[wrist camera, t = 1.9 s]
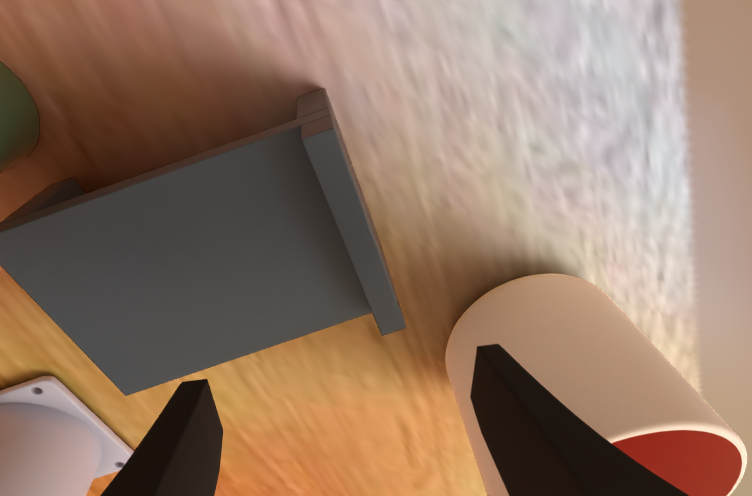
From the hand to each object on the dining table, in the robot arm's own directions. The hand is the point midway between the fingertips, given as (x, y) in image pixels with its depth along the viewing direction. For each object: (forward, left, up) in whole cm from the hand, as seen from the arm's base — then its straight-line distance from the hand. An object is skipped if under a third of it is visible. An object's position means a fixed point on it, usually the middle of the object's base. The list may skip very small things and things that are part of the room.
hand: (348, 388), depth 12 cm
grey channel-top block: (-4, +2, -10) cm, 11 cm away
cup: (+8, -11, -10) cm, 17 cm away
